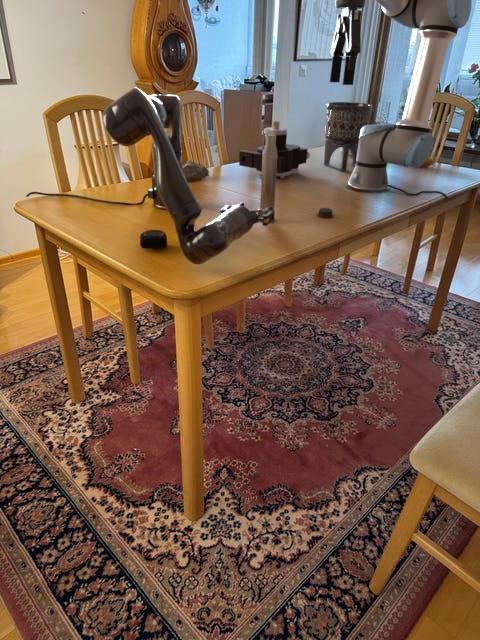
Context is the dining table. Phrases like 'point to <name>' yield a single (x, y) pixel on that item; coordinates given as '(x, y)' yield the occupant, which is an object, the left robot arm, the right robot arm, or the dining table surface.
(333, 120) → the planter
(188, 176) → the rock
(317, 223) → the dining table surface
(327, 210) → the cap
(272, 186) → the bottle
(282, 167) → the mechanical component
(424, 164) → the toy
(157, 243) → the tape measure
